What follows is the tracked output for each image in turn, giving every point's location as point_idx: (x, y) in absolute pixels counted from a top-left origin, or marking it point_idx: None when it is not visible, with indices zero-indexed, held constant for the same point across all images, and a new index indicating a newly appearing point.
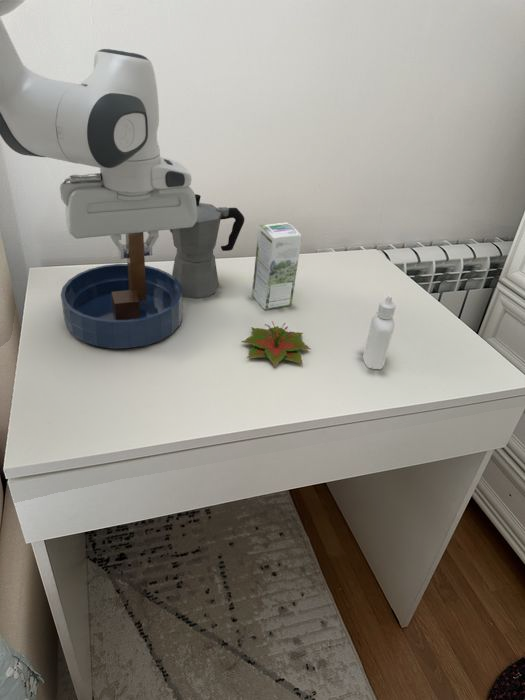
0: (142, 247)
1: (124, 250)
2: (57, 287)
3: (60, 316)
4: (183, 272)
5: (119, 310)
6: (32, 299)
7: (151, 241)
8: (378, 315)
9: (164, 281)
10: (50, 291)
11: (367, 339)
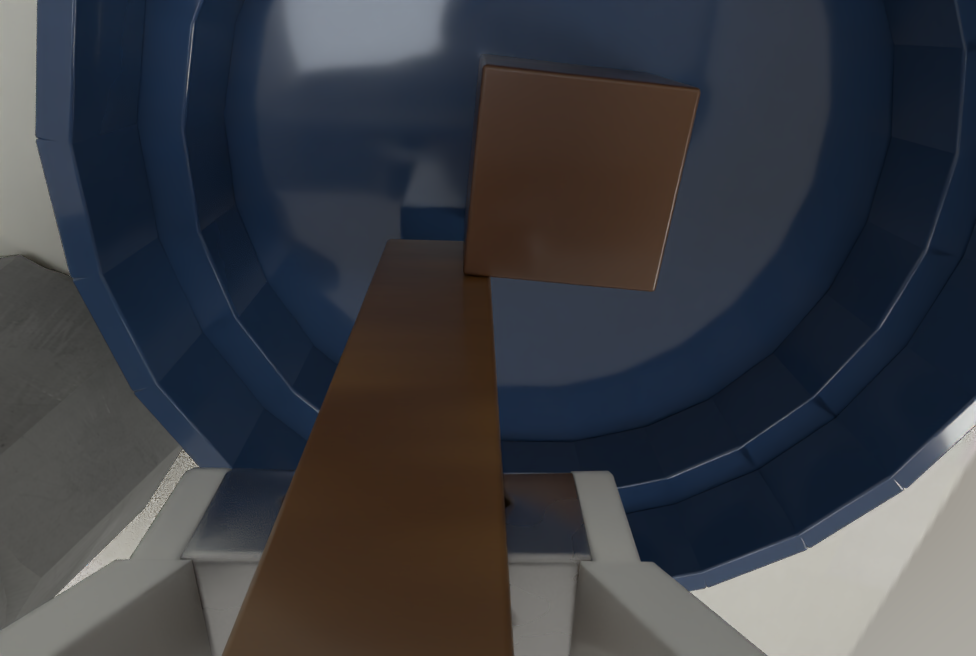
0: (290, 545)
1: (574, 546)
2: (783, 570)
3: None
4: (19, 415)
5: (647, 77)
6: (938, 501)
7: (89, 627)
8: None
9: (203, 363)
10: (828, 546)
11: None
